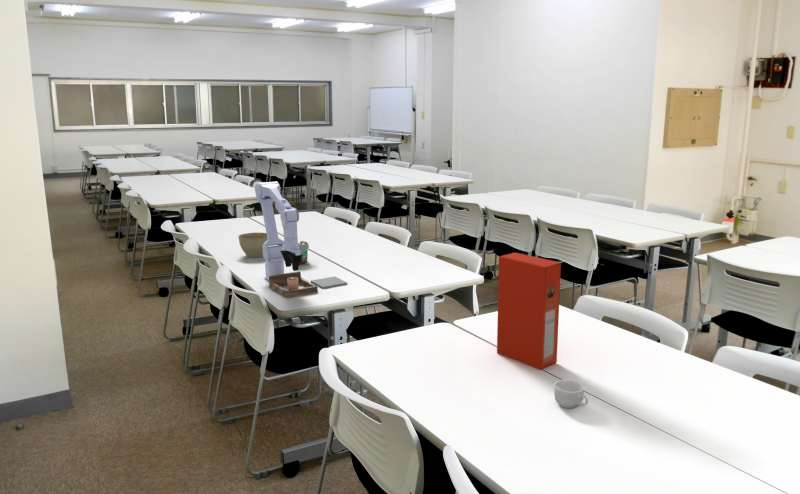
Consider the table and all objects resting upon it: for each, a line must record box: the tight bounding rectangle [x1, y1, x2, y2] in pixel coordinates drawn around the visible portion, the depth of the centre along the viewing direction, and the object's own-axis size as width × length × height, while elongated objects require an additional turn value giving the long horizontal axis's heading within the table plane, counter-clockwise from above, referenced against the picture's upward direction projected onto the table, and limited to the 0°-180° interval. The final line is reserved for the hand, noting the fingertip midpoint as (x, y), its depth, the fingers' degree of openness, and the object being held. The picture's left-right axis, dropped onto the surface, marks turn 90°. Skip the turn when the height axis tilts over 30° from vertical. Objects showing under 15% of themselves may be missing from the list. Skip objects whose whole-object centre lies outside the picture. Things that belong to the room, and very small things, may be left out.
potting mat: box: [310, 275, 348, 290], centre depth 283 cm, size 12×12×1 cm
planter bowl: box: [238, 232, 267, 258], centre depth 334 cm, size 16×16×11 cm
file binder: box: [496, 252, 562, 371], centre depth 197 cm, size 8×17×32 cm, turn 40°
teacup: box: [553, 379, 589, 409], centre depth 169 cm, size 10×8×5 cm
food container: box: [298, 240, 310, 266], centre depth 317 cm, size 12×6×10 cm, turn 168°
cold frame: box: [268, 270, 319, 299], centre depth 274 cm, size 18×14×5 cm
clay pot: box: [286, 277, 300, 291], centre depth 274 cm, size 5×5×5 cm
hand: (292, 268), depth 273 cm, fingers open, 7 cm apart
